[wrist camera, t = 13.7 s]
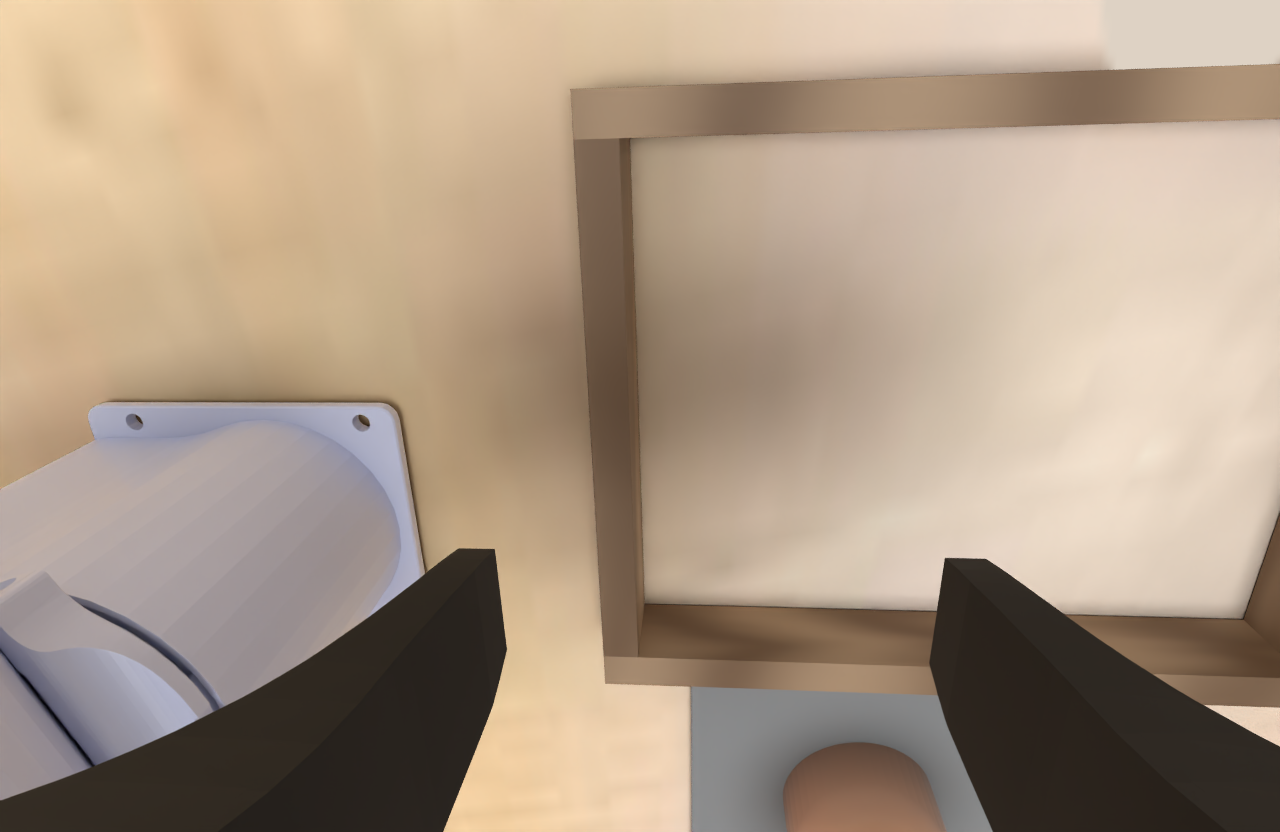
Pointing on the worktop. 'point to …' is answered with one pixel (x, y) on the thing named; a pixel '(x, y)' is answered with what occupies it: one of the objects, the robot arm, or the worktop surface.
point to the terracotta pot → (860, 792)
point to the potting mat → (811, 750)
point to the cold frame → (634, 631)
